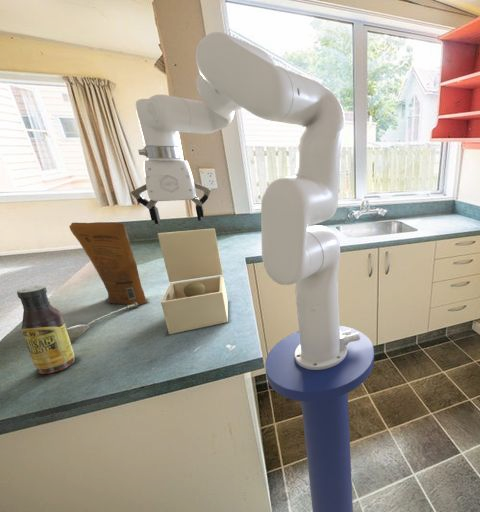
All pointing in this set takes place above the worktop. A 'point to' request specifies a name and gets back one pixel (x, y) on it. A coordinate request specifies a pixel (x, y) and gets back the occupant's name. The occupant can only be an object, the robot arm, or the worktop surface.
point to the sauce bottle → (44, 331)
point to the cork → (194, 289)
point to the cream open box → (195, 305)
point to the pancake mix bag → (111, 259)
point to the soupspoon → (80, 329)
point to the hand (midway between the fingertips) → (179, 221)
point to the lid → (190, 254)
